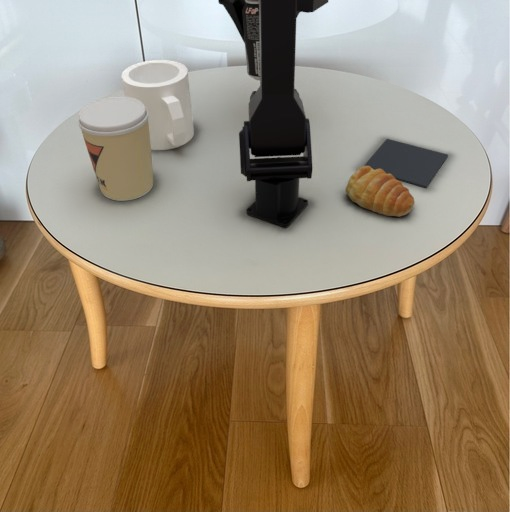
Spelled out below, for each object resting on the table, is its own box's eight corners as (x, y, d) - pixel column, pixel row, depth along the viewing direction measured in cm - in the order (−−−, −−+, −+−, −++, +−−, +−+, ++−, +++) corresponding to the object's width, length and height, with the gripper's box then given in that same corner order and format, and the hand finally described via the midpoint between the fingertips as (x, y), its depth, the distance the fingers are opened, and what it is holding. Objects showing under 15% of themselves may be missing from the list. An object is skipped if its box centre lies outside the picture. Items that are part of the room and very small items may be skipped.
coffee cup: (92, 175, 87) (74, 101, 79) (153, 164, 89) (141, 90, 81) (98, 209, 80) (79, 132, 72) (164, 197, 82) (153, 120, 74)
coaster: (426, 188, 82) (426, 186, 82) (361, 169, 86) (361, 167, 86) (447, 156, 88) (448, 154, 88) (386, 140, 92) (386, 138, 92)
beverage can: (274, 67, 96) (270, -10, 88) (288, 78, 91) (285, -3, 84) (242, 74, 94) (235, -4, 87) (255, 85, 90) (249, 4, 83)
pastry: (423, 205, 79) (428, 182, 76) (394, 227, 76) (398, 204, 73) (368, 179, 84) (370, 156, 82) (338, 198, 81) (340, 176, 78)
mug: (214, 147, 92) (209, 84, 85) (155, 166, 88) (145, 101, 81) (178, 114, 101) (170, 54, 94) (123, 130, 97) (111, 69, 90)
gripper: (348, -70, 81) (340, 40, 92) (237, -80, 89) (241, 23, 99) (313, -53, 74) (309, 65, 84) (196, -66, 82) (204, 43, 92)
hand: (264, 47), depth 90 cm, fingers closed on beverage can, 6 cm apart
